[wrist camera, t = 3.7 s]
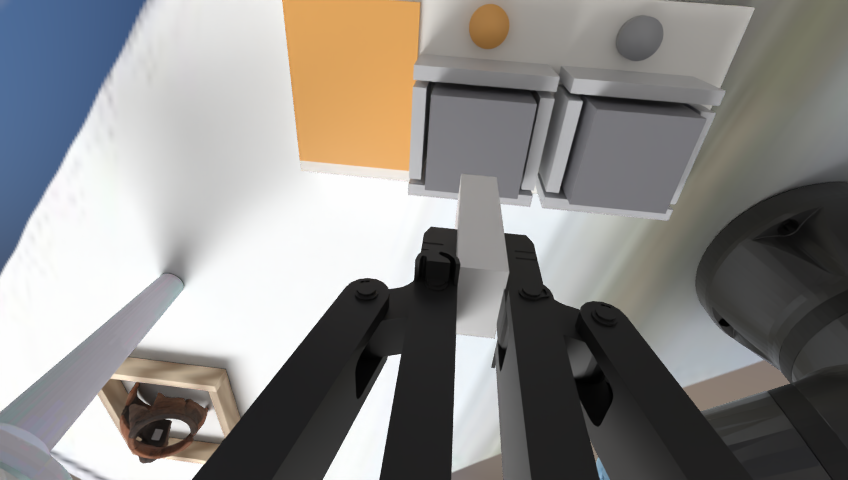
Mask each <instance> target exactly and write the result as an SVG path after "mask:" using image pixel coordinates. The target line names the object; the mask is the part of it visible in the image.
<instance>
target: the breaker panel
mask: <svg viewBox="0 0 848 480" xmlns="http://www.w3.org/2000/svg"><path fill="white" fill-rule="evenodd" d="M282 2H283V12H284V21H285V30H286V39H287V48H288V57H289V66H290V75H291V84H292V93H293V102H294V111H295V120H296V129H297V139H298V148H299V157H300V163H301V171H307V172H317V173H327V174H337V175H347V176H358V177H368V178H378V179H388V180H398V181H409V185H408V195H417V196H427V197H437V198H447V199H457V200H458V196H459V193H450V192H440V191H430V190H425V178H426V163H427V148H428V134H429V119H430V104H431V94H432V91H433V88H434V85H435V82H445V83H457V84H469V85H480V86H492V87H504V88H515V89H527V90H530V91H531V93H532V95H533V97H534V99H535V101H536V103H537V107H536V112H535V117H534V122H533V126H532V131H531V136H530V141H529V146H528V151H527V155H526V160H525V165H524V170H523V175H522V179H521V184H520V189H519V194H518V199H511V198H500V197H499V199H500V204H507V205H517V206H527V207H530V205H531V201H532V194H538V196H539V199H540V202H541V206H542V208H547V209H557V210H567V211H577V212H587V213H597V214H607V215H617V216H627V217H637V218H647V219H657V220H667V221H668V220H669V218H670V216H671V213H672V211H673V209H672V208H671V207H670V206H669V207H668V210H667V212H666V214H662V213H652V212H642V211H632V210H622V209H612V208H601V207H591V206H581V205H571V204H569V202H568V200H567V197H566V195H565V193H564V190H563V188H562V186H561V182H562V179H563V175H564V171H565V167H566V164H567V160H568V156H569V152H570V149H571V145H572V141H573V137H574V133H575V130H576V126H577V122H578V118H579V115H580V111H581V107H582V103H583V101H582V100H581V97H582V94H585V95H597V96H609V97H620V98H632V99H644V100H655V101H667V102H679V103H681V104H683V105H685V106H686V107H688V108H690V109H691V110H693V111H695V112H696V113H698V114H700V115H701V116H703V117H705V118H706V119H707V120H706V123H705V125H704V127H703V130H702V132H701V134H700V136H699V139H698V141H697V143H696V146H695V148H694V150H693V152H692V155H691V157H690V159H689V162H688V164H687V166H686V168H685V171H684V173H683V175H682V178H681V180H680V182H679V184H678V187H677V189H676V191H675V194H674V196H673V198H672V200H671V203H670V204H676V202H677V200H678V198H679V196H680V193H681V191H682V189H683V187H684V184H685V182H686V180H687V178H688V175H689V173H690V171H691V169H692V166H693V164H694V162H695V160H696V157H697V155H698V153H699V151H700V148H701V146H702V144H703V142H704V139H705V137H706V135H707V133H708V130H709V128H710V126H711V124H712V122H713V119H714V117H715V115H716V113H715V112H713V111H711V108H712V106H713V105H714V106H720V104H721V101H722V99H723V97H724V95H725V92H726V91H725V90H722V89H720V87H721V85H722V83H723V80H724V78H725V76H726V73H727V71H728V69H729V67H730V64H731V62H732V60H733V57H734V55H735V53H736V51H737V48H738V46H739V44H740V41H741V39H742V37H743V35H744V32H745V30H746V28H747V25H748V23H749V21H750V19H751V16H752V14H753V12H754V9H755V7H746V6H736V5H723V4H709V3H695V2H682V1H668V0H282Z"/></svg>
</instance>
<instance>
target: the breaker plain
mask: <svg viewBox="0 0 848 480" xmlns="http://www.w3.org/2000/svg"><path fill="white" fill-rule="evenodd" d="M581 100H582V101H583V103H582V107H581V111H580V115H579V118H578V122H577V126H576V130H575V133H574V137H573V141H572V145H571V149H570V152H569V156H568V160H567V164H566V167H565V171H564V175H563V179H562V182H561V186H562V188H563V190H564V193H565V195H566V197H567V200H568V202H569V204H571V205H581V206H591V207H601V208H612V209H622V210H632V211H642V212H652V213H662V214H666V212H667V210H668V207H669V205H670V203H671V200H672V198H673V196H674V194H675V191H676V189H677V187H678V184H679V182H680V180H681V178H682V175H683V173H684V171H685V168H686V166H687V164H688V162H689V159H690V157H691V155H692V152H693V150H694V148H695V146H696V143H697V141H698V139H699V136H700V134H701V132H702V130H703V127H704V125H705V123H706V120H707V119H706V118H705V117H703V116H701V115H700V114H698V113H696V112H695V111H693V110H691V109H690V108H688V107H686V106H685V105H683V104H681V103H679V102H667V101H655V100H644V99H632V98H620V97H609V96H597V95H585V94H582V97H581Z"/></svg>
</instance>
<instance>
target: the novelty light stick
mask: <svg viewBox="0 0 848 480" xmlns="http://www.w3.org/2000/svg"><path fill="white" fill-rule="evenodd" d="M183 288H184V285H183V283H182V281H181V280H180V279H179V278H178V277H176V276H175V275H172V274H167V273H166V274H162V275H161V276H160V277H159V278H158V279H156V280H155V281H154V282H153V283H152V284H150V285H149V286H148V287H147V288H146V289H145V290H143V291H142V292H141V293H140V294H139V295H138V296H136V297H135V298H134V299H133V300H132V301H130V302H129V303H128V304H127V305H126V306H125V307H123V308H122V309H121V310H120V311H119V312H118V313H116V314H115V315H114V316H113V317H112V318H110V319H109V320H108V321H107V322H106V323H105V324H103V325H102V326H101V327H100V328H99V329H98V330H96V331H95V332H94V333H93V334H92V335H90V336H89V337H88V338H87V339H86V340H85V341H83V342H82V343H81V344H80V345H79V346H78V347H76V348H75V349H74V350H73V351H72V352H70V353H69V354H68V355H67V356H66V357H65V358H63V359H62V360H61V361H60V362H59V363H58V364H56V365H55V366H54V367H53V368H52V369H50V370H49V371H48V372H47V373H46V374H45V375H43V376H42V377H41V378H40V379H39V380H38V381H36V382H35V383H34V384H33V385H32V386H30V387H29V388H28V389H27V390H26V391H25V392H23V393H22V394H21V395H20V396H19V397H18V398H16V399H15V400H14V401H13V402H12V403H10V404H9V405H8V406H7V407H6V408H5V409H3V410H2V411H1V412H0V480H73V479H72V478H71V476H70V474H69V473H68V472H67V470H66V469H65V468H64V467H63V466H62V465H61V464H60V463H59V462H58V461H56V460H55V459H54V458H53V457H52V456H51V455H50V451H51V450H52V449H53V447H54V446H55V445H56V444H57V442H58V441H59V440H60V439H61V438H62V436H63V435H64V434H65V433H66V431H67V430H68V429H69V428H70V427H71V425H72V424H73V423H74V422H75V421H76V419H77V418H78V417H79V416H80V414H81V413H82V412H83V411H84V410H85V408H86V407H87V406H88V405H89V403H90V402H91V401H92V400H93V399H94V397H95V396H96V395H97V394H98V392H99V391H100V390H101V389H102V388H103V386H104V385H105V384H106V383H107V382H108V380H109V379H110V378H111V377H112V375H113V374H114V373H115V372H116V371H117V369H118V368H119V367H120V366H121V364H122V363H123V362H124V361H125V360H126V358H127V357H128V356H129V355H130V354H131V352H132V351H133V350H134V349H135V347H136V346H137V345H138V344H139V343H140V341H141V340H142V339H143V338H144V336H145V335H146V334H147V333H148V332H149V330H150V329H151V328H152V327H153V325H154V324H155V323H156V322H157V321H158V319H159V318H160V317H161V316H162V315H163V313H164V312H165V311H166V310H167V308H168V307H169V306H170V305H171V304H172V302H173V301H174V300H175V299H176V297H177V296H178V295H179V294H180V293H181V291H182V290H183Z"/></svg>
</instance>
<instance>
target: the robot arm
mask: <svg viewBox="0 0 848 480" xmlns="http://www.w3.org/2000/svg"><path fill="white" fill-rule="evenodd" d="M535 253H536V252H535V248H534V244H533V243H532V241H531V240H530V239H529V238H528V237H527V236H526V235H518V234H508V233H504V229H503V221H502V214H501V206H500V199H499V191H498V184H497V177H489V176H479V175H468V174H461V179H460V187H459V196H458V204H457V213H456V221H455V229H448V228H438V227H430V228H429V229H428V230H427V231H426V232H425V233H424V237H423V244H422V249H421V253H420V254H418V256H417V258H416V259H415V276H414V281H413V282H411V283H410V284H408V285H406V286H404V287H400V288H395V289H388V287H387V286H386V285H385V284H384V283H383V282H381V281H379V280H377V279H370V278H365V279H358V280H356V281H353V282H351V283H350V284H349V285H348V286H346V288H345V289H344V290H343V291H342V293H341V294H340V295H339V296H338V298H337V299H336V300H335V301H334V303H333V304H332V305H331V306H330V308H329V309H328V310H327V311H326V313H325V314H324V315H323V316H322V318H321V319H320V320H319V321H318V323H317V324H316V325H315V326H314V328H313V329H312V330H311V331H310V333H309V334H308V335H307V336H306V338H305V339H304V340H303V341H302V343H301V344H300V345H299V346H298V348H297V349H296V350H295V351H294V353H293V354H292V355H291V356H290V358H289V359H288V360H287V361H286V363H285V364H284V365H283V366H282V368H281V369H280V370H279V371H278V373H277V374H276V375H275V376H274V378H273V379H272V380H271V381H270V383H269V384H268V385H267V386H266V388H265V389H264V390H263V391H262V393H261V394H260V395H259V396H258V398H257V399H256V400H255V401H254V403H253V404H252V405H251V406H250V408H249V409H248V410H247V411H246V413H245V414H244V415H243V416H242V418H241V419H240V420H239V421H238V423H237V424H236V425H235V426H234V428H233V429H232V430H231V431H230V433H229V434H228V435H227V436H226V438H225V439H224V440H223V441H222V443H221V444H220V445H219V446H218V448H217V449H216V450H215V451H214V453H213V454H212V455H211V456H210V458H209V459H208V460H207V461H206V463H205V464H204V465H203V467H202V468H201V469H200V470H199V472H198V473H197V474H196V475H195V477H194V478H193V479H192V480H323V478H324V476H325V474H326V473H327V471H328V469H329V467H330V465H331V463H332V461H333V459H334V458H335V456H336V454H337V452H338V450H339V448H340V446H341V445H342V443H343V441H344V439H345V437H346V435H347V433H348V431H349V430H350V428H351V426H352V424H353V422H354V420H355V418H356V417H357V415H358V413H359V411H360V409H361V407H362V405H363V404H364V402H365V400H366V398H367V396H368V394H369V392H370V390H371V389H372V387H373V385H374V383H375V381H376V379H377V377H378V376H379V374H380V372H381V370H382V368H383V366H384V364H385V363H386V361H387V357H388V356H391V355H397V354H401V359H400V365H399V371H398V377H397V382H396V388H395V394H394V399H393V405H392V411H391V416H390V422H389V428H388V434H387V439H386V445H385V451H384V456H383V462H382V468H381V474H380V479H379V480H451V468H452V438H453V408H454V378H455V348H456V334H458V335H467V336H476V337H485V338H494V339H495V334H496V330H497V336H498V340H497V344H496V349H495V353H494V358H493V362H492V367H491V368H495V365H496V374H497V389H498V405H499V420H500V436H501V452H502V467H503V480H848V182H832V183H822V184H815V185H810V186H805V187H801V188H797V189H794V190H791V191H788V192H785V193H782V194H779V195H777V196H774V197H772V198H770V199H768V200H766V201H764V202H762V203H760V204H758V205H756V206H754V207H753V208H751V209H749V210H748V211H746V212H745V213H743V214H742V215H740V216H739V217H738V218H736V219H735V220H734V221H732V222H731V223H730V224H729V225H728V226H727V227H725V228H724V229H723V230H722V231H721V232H720V233H719V234H718V235H717V237H716V238H715V239H714V240H713V241H712V243H711V244H710V245H709V247H708V248H707V250H706V251H705V253H704V255H703V257H702V259H701V261H700V263H699V266H698V269H697V274H696V292H697V296H698V298H699V301H700V302H701V304H702V306H703V307H704V309H705V310H706V311H707V313H708V314H709V316H710V317H711V319H712V320H713V321H714V323H715V324H716V325H717V326H718V327H719V328H720V329H721V330H722V331H723V332H725V333H726V334H727V335H729V336H730V337H732V338H733V339H735V340H736V341H738V342H739V343H741V344H742V345H743V346H745V347H746V348H748V349H749V350H751V351H752V352H754V353H755V354H757V355H758V356H760V357H761V358H763V359H764V360H765V361H767V362H768V363H770V364H772V365H773V366H774V367H776V368H777V369H779V370H780V371H781V372H782V373H783V375H784V376H785V377H786V378H787V380H788V381H789V382H790V383H791V384H787V385H784V386H781V387H778V388H775V389H772V390H769V391H764V392H761V393H758V394H754V395H751V396H748V397H745V398H742V399H739V400H736V401H732V402H729V403H726V404H723V405H720V406H716V407H713V408H710V409H707V410H704V411H701V412H700V410H699V409H698V408H697V407H696V405H695V404H694V403H693V401H692V400H691V399H690V398H689V396H688V395H687V394H686V392H685V391H684V390H683V389H682V387H681V386H680V385H679V383H678V382H677V381H676V380H675V378H674V377H673V376H672V374H671V373H670V372H669V371H668V369H667V368H666V367H665V365H664V364H663V363H662V362H661V360H660V359H659V358H658V357H657V355H656V354H655V353H654V351H653V350H652V349H651V348H650V346H649V345H648V344H647V342H646V341H645V340H644V339H643V337H642V336H641V335H640V333H639V332H638V331H637V330H636V328H635V327H634V326H633V324H632V323H631V322H630V321H629V319H628V318H627V317H626V315H624V314H623V313H622V312H621V311H620V310H619V309H617V308H616V307H614V306H612V305H610V304H607V303H604V302H597V301H592V302H587V303H585V304H584V305H583V306H581V309H580V310H579V309H576V308H573V307H570V306H566V305H564V304H562V303H559V302H558V301H556V300H554V297H553V295H552V293H551V291H550V290H549V289H548V288H547V287H546V286H545V285H543V281H542V277H541V273H540V269H539V265H538V261H537V256H536V254H535ZM590 441H591V442H590ZM591 443H592V445H593V447H594V449H595V451H596V453H597V455H598V460H597V463H596V462H595V458H594V455H593V450H592V446H591Z"/></svg>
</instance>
